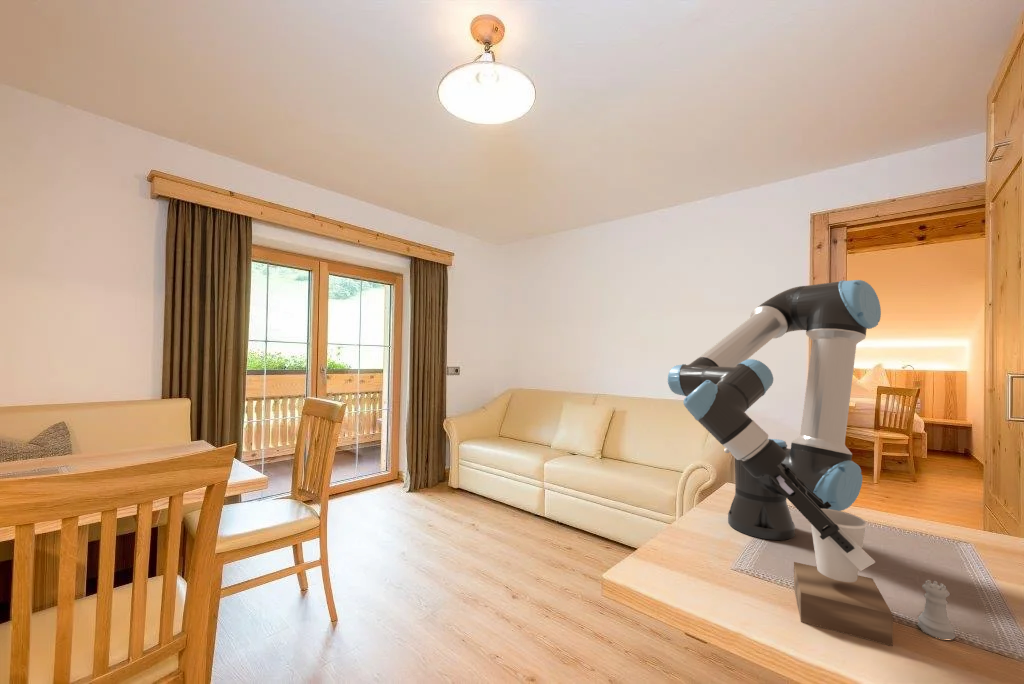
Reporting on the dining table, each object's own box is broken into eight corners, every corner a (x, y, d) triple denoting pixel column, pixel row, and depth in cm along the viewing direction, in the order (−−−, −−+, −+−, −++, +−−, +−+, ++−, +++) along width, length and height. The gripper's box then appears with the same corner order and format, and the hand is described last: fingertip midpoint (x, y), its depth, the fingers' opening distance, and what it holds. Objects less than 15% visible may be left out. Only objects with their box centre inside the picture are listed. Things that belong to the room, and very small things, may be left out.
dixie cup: (801, 571, 75) (801, 515, 75) (815, 557, 81) (815, 504, 81) (861, 592, 69) (861, 530, 69) (872, 575, 74) (872, 518, 74)
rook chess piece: (963, 643, 67) (963, 593, 67) (930, 639, 68) (930, 589, 68) (941, 626, 71) (940, 578, 72) (910, 622, 72) (910, 575, 73)
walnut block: (793, 587, 83) (793, 561, 83) (872, 606, 77) (872, 578, 77) (800, 621, 72) (800, 592, 72) (892, 646, 66) (892, 614, 66)
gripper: (739, 450, 92) (831, 542, 84) (738, 475, 73) (855, 595, 65) (768, 429, 89) (865, 521, 81) (774, 448, 71) (900, 570, 63)
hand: (860, 554), depth 73 cm, fingers closed on dixie cup, 8 cm apart
